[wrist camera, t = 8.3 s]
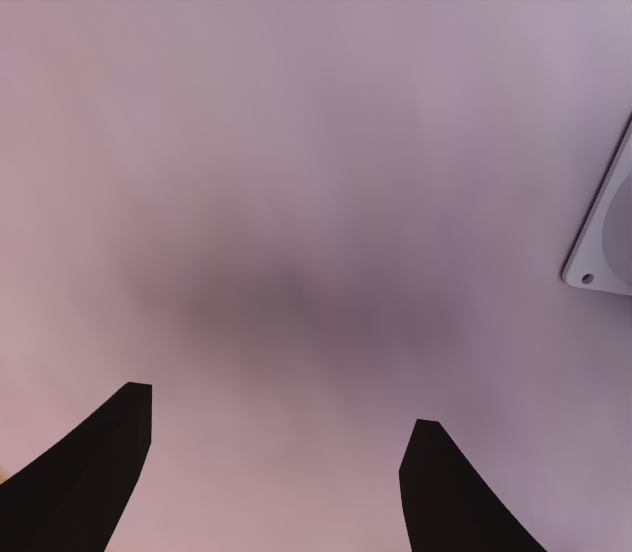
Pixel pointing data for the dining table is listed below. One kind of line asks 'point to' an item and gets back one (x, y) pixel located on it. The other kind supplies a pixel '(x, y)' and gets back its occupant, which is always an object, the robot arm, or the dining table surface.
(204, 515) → the dining table surface
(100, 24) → the dining table surface
